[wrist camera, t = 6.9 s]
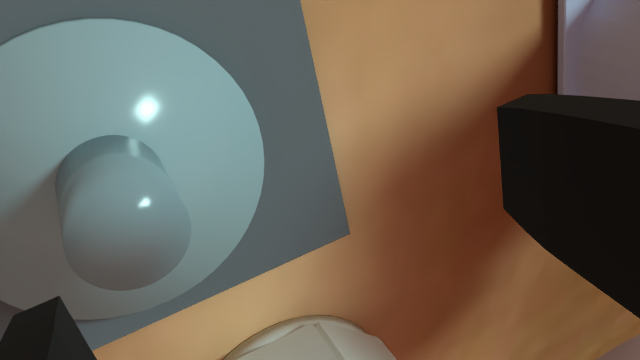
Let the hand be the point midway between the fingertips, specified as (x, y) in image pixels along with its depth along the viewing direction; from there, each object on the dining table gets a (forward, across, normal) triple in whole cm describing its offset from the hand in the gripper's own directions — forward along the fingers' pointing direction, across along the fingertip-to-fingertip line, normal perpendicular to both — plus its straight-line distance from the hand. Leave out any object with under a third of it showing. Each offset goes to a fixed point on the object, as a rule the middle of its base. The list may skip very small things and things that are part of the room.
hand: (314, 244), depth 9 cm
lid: (+10, +3, +2) cm, 11 cm away
